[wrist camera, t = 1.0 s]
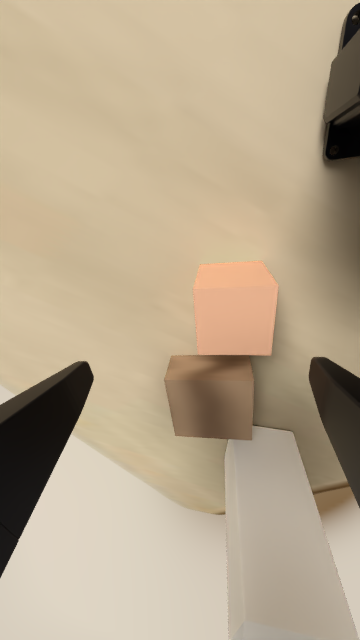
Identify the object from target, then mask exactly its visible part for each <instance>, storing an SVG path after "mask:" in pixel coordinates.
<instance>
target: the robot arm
mask: <svg viewBox="0 0 360 640" xmlns="http://www.w3.org/2000/svg"><path fill="white" fill-rule="evenodd" d="M353 16H358V18H359V23H358V24H357V25H353V23H352V17H353ZM323 119H324V121H325V122H326V123H327V129H326V135H325V142H324V148H323V157H324V159H325V160H327V161H333V160H341V159H348V158H356V157H360V3H358V4H356V5H355V6H354V7H353V8H352V9H351V10H350V12H349V13H348V14H347V16H346V18H345V20H344V23H343V27H342V33H341V40H340V46H339V53H338V55H337V57H336V58H335V59H334V60H333V62H332V64H331V71H330V77H329V84H328V91H327V97H326V104H325V111H324V117H323ZM332 146H333V147H335V148H336V152H335V154H334V155H331V154H330V149H331V147H332ZM93 380H94V376H93V373H92V371H91V368H90V366H89V364H88V362H86V361H78V362H76V363H74V364H72V365H70V366H69V367H67V368H65V369H63V370H61V371H60V372H58V373H56V374H54V375H53V376H51V377H49V378H47V379H45V380H44V381H42V382H40V383H38V384H37V385H35V386H33V387H31V388H29V389H28V390H26V391H24V392H22V393H21V394H19V395H17V396H15V397H14V398H12V399H10V400H8V401H6V402H5V403H3V404H1V405H0V578H1V576H2V573H3V571H4V570H5V567H6V565H7V563H8V561H9V559H10V557H11V555H12V553H13V551H14V549H15V547H16V545H17V543H18V539H19V538H20V536H21V535H22V532H23V530H24V528H25V526H26V524H27V522H28V520H29V518H30V516H31V514H32V512H33V510H34V508H35V506H36V504H37V502H38V500H39V498H40V496H41V493H42V492H43V490H44V488H45V486H46V484H47V481H48V479H49V478H50V475H51V473H52V471H53V469H54V467H55V465H56V463H57V461H58V459H59V457H60V455H61V453H62V451H63V449H64V447H65V445H66V443H67V441H68V439H69V437H70V435H71V433H72V431H73V429H74V427H75V425H76V423H77V421H78V418H79V416H80V414H81V412H82V409H83V407H84V404H85V402H86V399H87V396H88V394H89V391H90V388H91V386H92V383H93ZM309 381H310V385H311V388H312V391H313V395H314V398H315V401H316V404H317V408H318V411H319V414H320V417H321V420H322V423H323V425H324V428H325V430H326V432H327V435H328V437H329V439H330V441H331V444H332V446H333V448H334V451H335V453H336V455H337V457H338V460H339V462H340V464H341V467H342V469H343V471H344V473H345V476H346V478H347V480H348V483H349V485H350V487H351V489H352V492H353V494H354V496H355V498H356V501H357V503H358V505H359V508H360V378H359V377H357V376H355V375H354V374H352V373H351V372H349V371H347V370H346V369H344V368H342V367H341V366H339V365H337V364H336V363H334V362H332V361H331V360H329V359H328V358H326V357H313V358H312V360H311V364H310V371H309Z"/></svg>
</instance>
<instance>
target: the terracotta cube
mask: <svg viewBox="0 0 360 640" xmlns="http://www.w3.org/2000/svg"><path fill="white" fill-rule="evenodd" d="M193 295H194V309H195V322H196V335H197V349H198V355H271V351H272V341H273V332H274V323H275V314H276V304H277V295H278V284H277V283H276V281H275V280H274V278H273V277H272V275H271V274H270V272H269V271H268V269H267V268H266V266H265V265H264V263H263V262H262V261H249V262H232V263H215V264H200V266H199V270H198V273H197V277H196V280H195V284H194V287H193Z"/></svg>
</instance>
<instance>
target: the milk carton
mask: <svg viewBox="0 0 360 640" xmlns="http://www.w3.org/2000/svg"><path fill="white" fill-rule="evenodd" d="M224 462H225V505H226V547H227V588H228V631H229V640H359V637H358V634H357V631H356V628H355V625H354V622H353V618H352V615H351V612H350V609H349V606H348V603H347V600H346V597H345V593H344V591H343V587H342V584H341V581H340V578H339V575H338V572H337V568H336V565H335V562H334V559H333V556H332V553H331V550H330V547H329V543H328V541H327V537H326V534H325V531H324V528H323V525H322V521H321V518H320V515H319V512H318V509H317V506H316V503H315V499H314V496H313V493H312V490H311V487H310V484H309V481H308V478H307V474H306V471H305V468H304V465H303V462H302V459H301V456H300V453H299V449H298V446H297V443H296V440H295V437H294V434H293V432H291V431H285V430H279V429H272V428H266V427H259V426H253V425H252V440H235V439H228V444H227V448H226V452H225V457H224Z"/></svg>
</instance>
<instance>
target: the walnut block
mask: <svg viewBox="0 0 360 640" xmlns="http://www.w3.org/2000/svg"><path fill="white" fill-rule="evenodd" d="M164 381H165V386H166V391H167V396H168V401H169V406H170V411H171V416H172V421H173V426H174V431H175V436H185V437H202V438H219V439H235V440H252V425H253V398H254V378H253V373H252V367H251V362H250V357H249V355H189V356H171V359H170V362H169V366H168V369H167V372H166V376H165V379H164Z"/></svg>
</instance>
